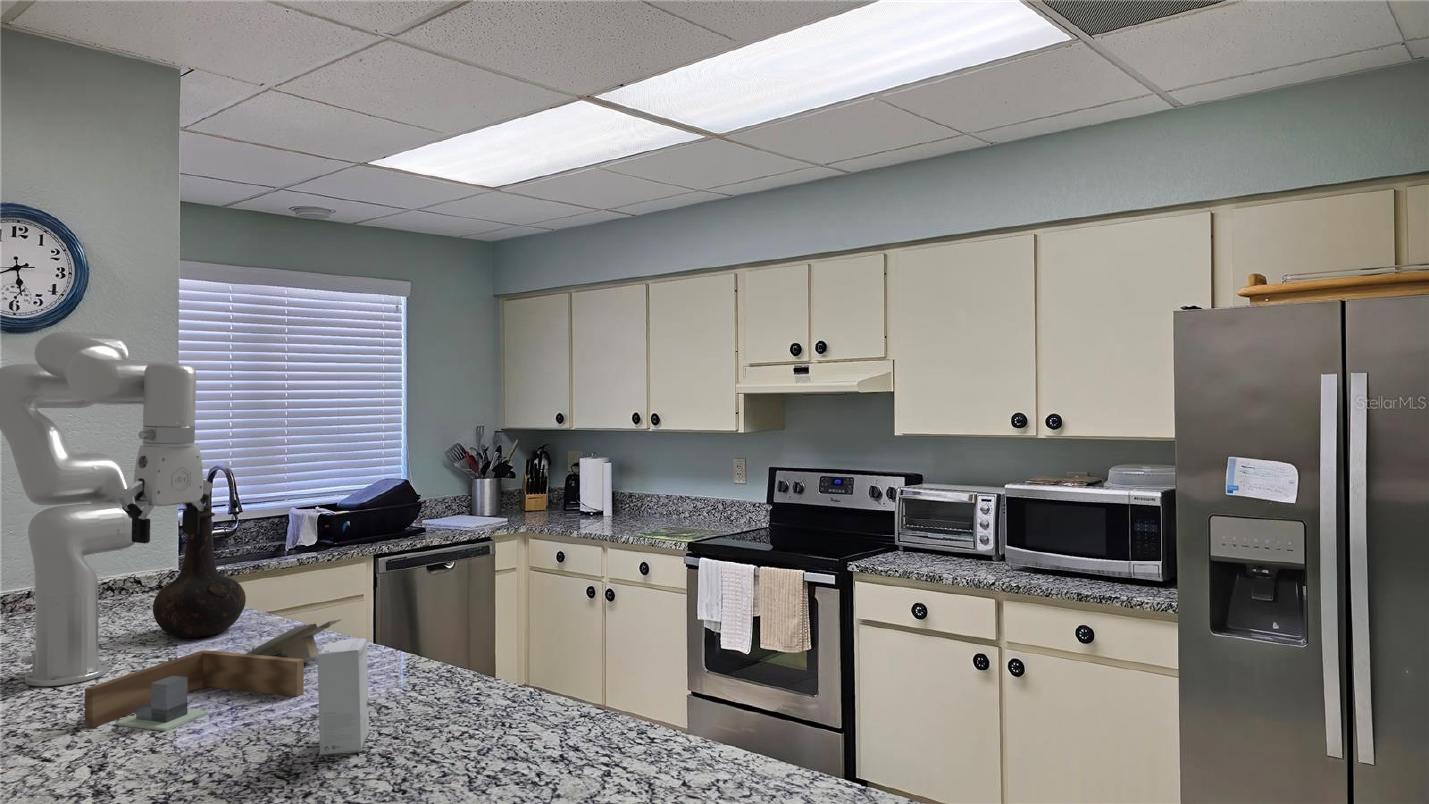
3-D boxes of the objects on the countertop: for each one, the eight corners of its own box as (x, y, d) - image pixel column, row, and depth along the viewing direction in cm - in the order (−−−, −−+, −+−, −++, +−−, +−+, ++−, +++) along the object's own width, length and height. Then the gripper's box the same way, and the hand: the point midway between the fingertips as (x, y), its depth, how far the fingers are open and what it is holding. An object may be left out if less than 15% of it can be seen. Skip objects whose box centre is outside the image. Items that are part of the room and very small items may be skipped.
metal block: (166, 722, 143) (166, 684, 143) (136, 719, 144) (136, 681, 144) (187, 714, 146) (187, 677, 146) (157, 710, 148) (157, 674, 148)
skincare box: (361, 753, 131) (361, 650, 131) (316, 756, 130) (316, 653, 130) (369, 732, 140) (369, 636, 140) (327, 735, 138) (327, 638, 138)
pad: (115, 724, 143) (115, 722, 143) (159, 708, 150) (159, 705, 150) (166, 731, 140) (166, 728, 140) (207, 713, 148) (207, 711, 148)
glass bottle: (180, 648, 187) (179, 512, 186) (135, 636, 196) (135, 507, 196) (262, 630, 202) (262, 504, 202) (217, 619, 211) (217, 499, 211)
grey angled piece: (248, 700, 166) (309, 647, 166) (224, 662, 168) (284, 610, 168) (302, 687, 182) (358, 638, 182) (279, 652, 184) (334, 604, 184)
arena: (84, 726, 142) (84, 688, 142) (203, 683, 164) (203, 650, 164) (196, 741, 136) (196, 701, 136) (303, 693, 158) (303, 659, 158)
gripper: (139, 440, 143) (137, 548, 143) (228, 435, 160) (225, 532, 160) (103, 438, 145) (101, 544, 146) (194, 433, 162) (192, 528, 162)
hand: (166, 537), depth 153 cm, fingers open, 9 cm apart
